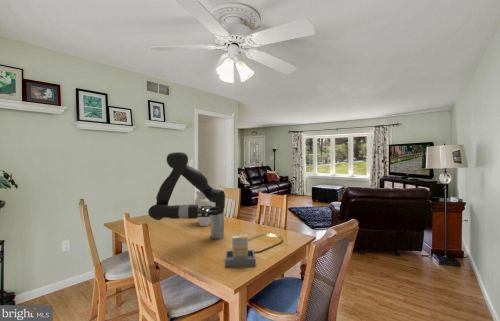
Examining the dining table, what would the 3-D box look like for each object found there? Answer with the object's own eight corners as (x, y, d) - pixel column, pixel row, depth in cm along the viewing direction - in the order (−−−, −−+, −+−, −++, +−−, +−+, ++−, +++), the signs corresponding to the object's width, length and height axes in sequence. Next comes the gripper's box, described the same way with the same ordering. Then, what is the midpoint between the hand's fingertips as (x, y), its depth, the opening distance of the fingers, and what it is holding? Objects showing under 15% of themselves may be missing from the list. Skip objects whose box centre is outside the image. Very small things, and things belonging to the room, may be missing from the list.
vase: (200, 228, 187) (199, 191, 186) (192, 224, 198) (191, 189, 197) (216, 224, 196) (216, 189, 195) (208, 220, 207) (207, 187, 206)
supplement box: (247, 257, 134) (247, 234, 133) (247, 261, 129) (247, 237, 129) (232, 257, 133) (232, 234, 133) (232, 261, 128) (232, 237, 128)
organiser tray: (226, 256, 136) (226, 250, 136) (253, 255, 137) (253, 249, 137) (225, 266, 125) (225, 260, 125) (255, 265, 126) (255, 259, 126)
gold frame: (288, 240, 161) (288, 238, 161) (251, 257, 137) (251, 254, 137) (267, 233, 175) (267, 231, 175) (230, 247, 150) (230, 245, 150)
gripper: (185, 207, 121) (218, 207, 122) (190, 201, 135) (219, 201, 136) (186, 222, 121) (218, 221, 122) (191, 214, 136) (219, 214, 137)
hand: (219, 210), depth 129 cm, fingers open, 8 cm apart
